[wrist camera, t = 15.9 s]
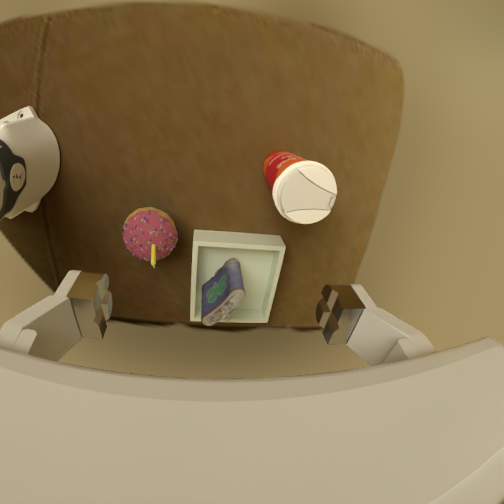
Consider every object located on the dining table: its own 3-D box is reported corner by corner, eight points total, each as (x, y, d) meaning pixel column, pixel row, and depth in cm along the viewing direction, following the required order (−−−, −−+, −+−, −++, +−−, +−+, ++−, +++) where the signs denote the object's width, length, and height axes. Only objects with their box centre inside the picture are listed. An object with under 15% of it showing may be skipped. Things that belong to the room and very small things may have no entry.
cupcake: (187, 210, 44) (182, 247, 33) (169, 253, 47) (160, 297, 37) (138, 190, 41) (117, 221, 30) (123, 235, 44) (102, 275, 34)
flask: (232, 254, 48) (238, 294, 39) (244, 264, 49) (253, 304, 40) (197, 288, 50) (197, 330, 41) (210, 296, 52) (212, 338, 42)
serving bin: (190, 306, 53) (190, 320, 50) (194, 229, 46) (193, 240, 42) (263, 309, 56) (267, 322, 53) (280, 235, 48) (285, 246, 45)
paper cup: (309, 151, 42) (349, 174, 30) (295, 195, 45) (327, 233, 33) (262, 138, 40) (286, 154, 28) (249, 185, 43) (266, 220, 31)
